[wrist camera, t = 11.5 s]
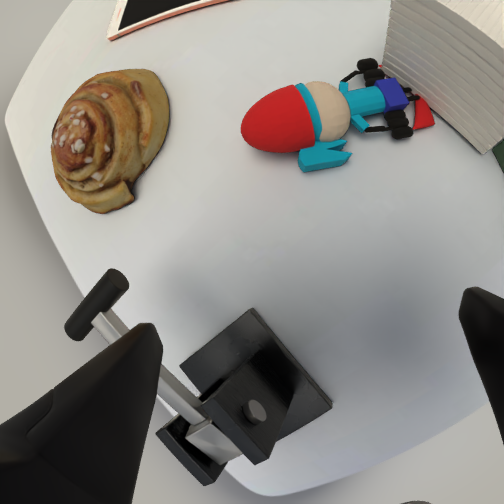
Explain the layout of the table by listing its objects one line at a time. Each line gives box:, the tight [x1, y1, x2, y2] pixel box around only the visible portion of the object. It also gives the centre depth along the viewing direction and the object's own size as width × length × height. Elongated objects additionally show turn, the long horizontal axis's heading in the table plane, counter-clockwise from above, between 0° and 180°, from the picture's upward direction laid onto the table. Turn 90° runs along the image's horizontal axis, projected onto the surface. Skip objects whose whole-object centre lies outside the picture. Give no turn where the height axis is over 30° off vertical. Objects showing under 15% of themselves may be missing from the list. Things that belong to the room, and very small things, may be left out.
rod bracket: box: [156, 308, 333, 486], centre depth 19 cm, size 10×8×10 cm
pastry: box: [51, 69, 169, 214], centre depth 24 cm, size 13×15×8 cm
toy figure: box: [241, 58, 435, 172], centre depth 20 cm, size 8×5×15 cm
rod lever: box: [64, 268, 243, 465], centre depth 16 cm, size 12×5×2 cm, turn 41°
